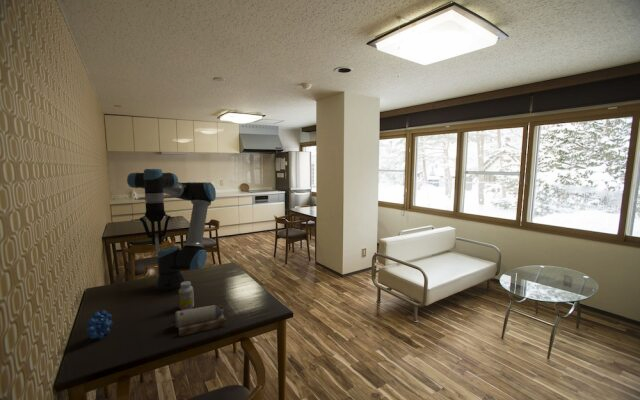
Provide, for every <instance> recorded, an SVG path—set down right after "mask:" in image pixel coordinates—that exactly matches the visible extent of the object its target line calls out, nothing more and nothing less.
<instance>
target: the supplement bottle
mask: <svg viewBox="0 0 640 400" xmlns="http://www.w3.org/2000/svg"><path fill="white" fill-rule="evenodd" d="M178 289H179V290H178V299H179V302H178V303H179V309H180V311H182V310H188V309H194V306H195V297H194V294H195V293H194V287H193V286H192V283H191V281H188V280H186V281H185V280H184V282H182V283H181V287H180V288H178Z"/></svg>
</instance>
